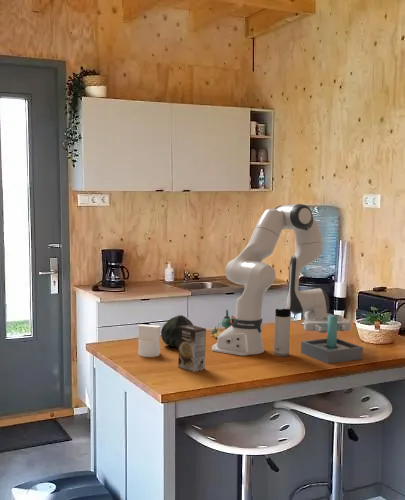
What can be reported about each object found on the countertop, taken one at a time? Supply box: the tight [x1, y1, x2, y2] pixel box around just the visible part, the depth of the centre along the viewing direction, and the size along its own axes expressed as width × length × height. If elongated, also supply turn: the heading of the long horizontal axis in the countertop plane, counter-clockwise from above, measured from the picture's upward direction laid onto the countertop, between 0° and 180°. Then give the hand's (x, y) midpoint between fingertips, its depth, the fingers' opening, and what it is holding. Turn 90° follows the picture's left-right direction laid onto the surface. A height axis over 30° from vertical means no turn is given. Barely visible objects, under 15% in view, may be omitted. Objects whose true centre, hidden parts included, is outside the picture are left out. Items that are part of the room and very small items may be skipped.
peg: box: [326, 314, 338, 348], centre depth 267 cm, size 4×4×16 cm
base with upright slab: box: [138, 323, 161, 358], centre depth 265 cm, size 9×9×12 cm
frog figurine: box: [210, 309, 234, 339], centre depth 294 cm, size 10×18×15 cm, turn 33°
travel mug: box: [273, 308, 291, 357], centre depth 268 cm, size 6×7×20 cm
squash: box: [160, 314, 194, 349], centre depth 278 cm, size 14×15×15 cm
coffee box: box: [177, 324, 207, 373], centre depth 245 cm, size 9×6×16 cm
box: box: [300, 338, 364, 365], centre depth 268 cm, size 18×18×5 cm
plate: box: [313, 343, 349, 351], centre depth 268 cm, size 12×12×3 cm
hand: (332, 329), depth 267 cm, fingers open, 8 cm apart
